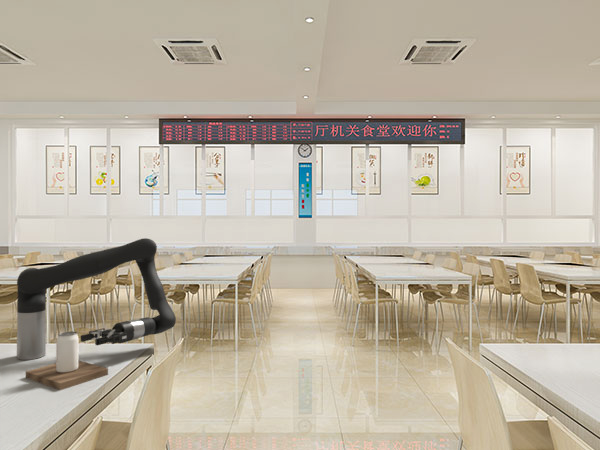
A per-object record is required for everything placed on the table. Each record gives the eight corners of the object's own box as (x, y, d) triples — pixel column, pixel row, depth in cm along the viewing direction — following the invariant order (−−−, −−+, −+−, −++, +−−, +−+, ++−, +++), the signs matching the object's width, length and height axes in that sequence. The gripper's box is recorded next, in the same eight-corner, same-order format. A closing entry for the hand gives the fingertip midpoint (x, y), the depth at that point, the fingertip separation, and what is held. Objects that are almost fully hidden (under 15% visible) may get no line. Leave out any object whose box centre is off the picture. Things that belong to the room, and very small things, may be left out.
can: (69, 373, 140) (69, 336, 139) (51, 372, 141) (51, 335, 141) (82, 367, 146) (82, 331, 146) (66, 366, 147) (66, 330, 147)
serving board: (25, 377, 142) (25, 371, 142) (73, 364, 155) (73, 358, 155) (60, 390, 131) (60, 383, 131) (107, 374, 145) (107, 368, 145)
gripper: (116, 318, 167) (76, 327, 153) (141, 323, 160) (101, 332, 146) (116, 338, 167) (76, 348, 153) (141, 343, 160) (101, 354, 146)
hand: (88, 340), depth 149 cm, fingers open, 8 cm apart
